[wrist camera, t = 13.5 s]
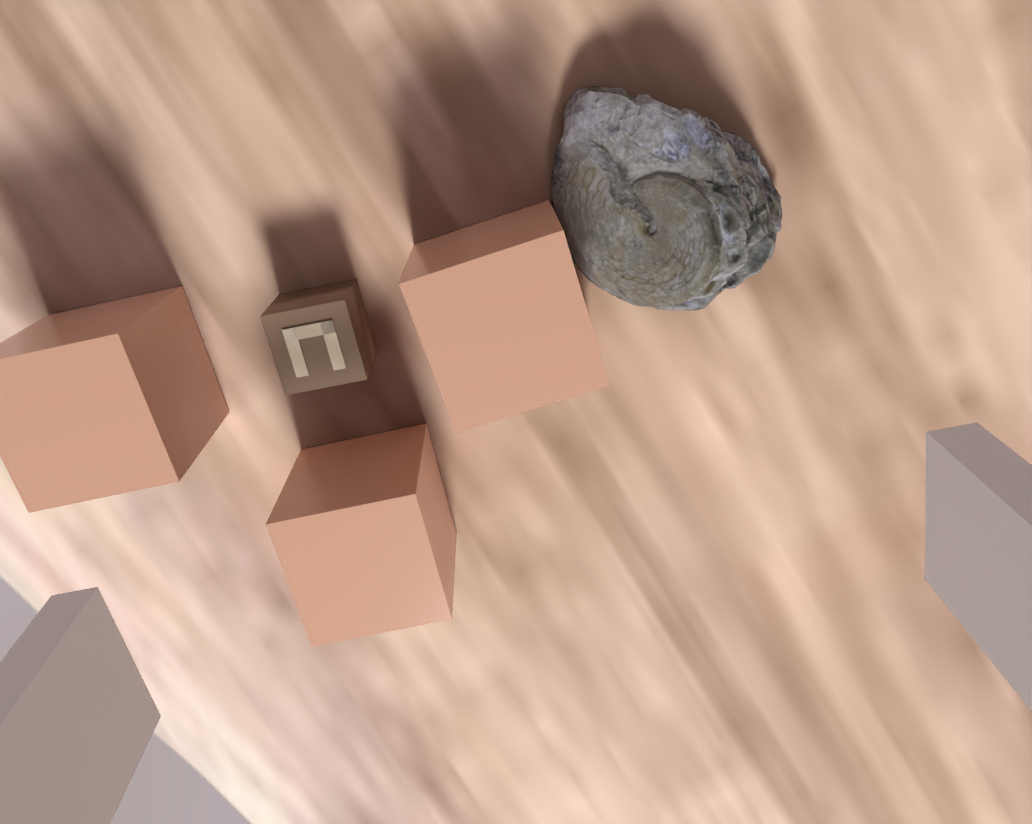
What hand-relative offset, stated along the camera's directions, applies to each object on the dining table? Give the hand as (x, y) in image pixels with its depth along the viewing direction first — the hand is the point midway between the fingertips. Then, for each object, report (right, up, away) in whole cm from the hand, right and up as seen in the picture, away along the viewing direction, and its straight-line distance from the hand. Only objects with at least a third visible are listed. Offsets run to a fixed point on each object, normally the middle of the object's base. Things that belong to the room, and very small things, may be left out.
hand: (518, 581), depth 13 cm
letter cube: (-10, +7, +30) cm, 32 cm away
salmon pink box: (-19, +5, +30) cm, 36 cm away
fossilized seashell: (+7, +14, +28) cm, 32 cm away
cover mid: (-8, -2, +33) cm, 34 cm away
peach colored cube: (-1, +9, +29) cm, 30 cm away
